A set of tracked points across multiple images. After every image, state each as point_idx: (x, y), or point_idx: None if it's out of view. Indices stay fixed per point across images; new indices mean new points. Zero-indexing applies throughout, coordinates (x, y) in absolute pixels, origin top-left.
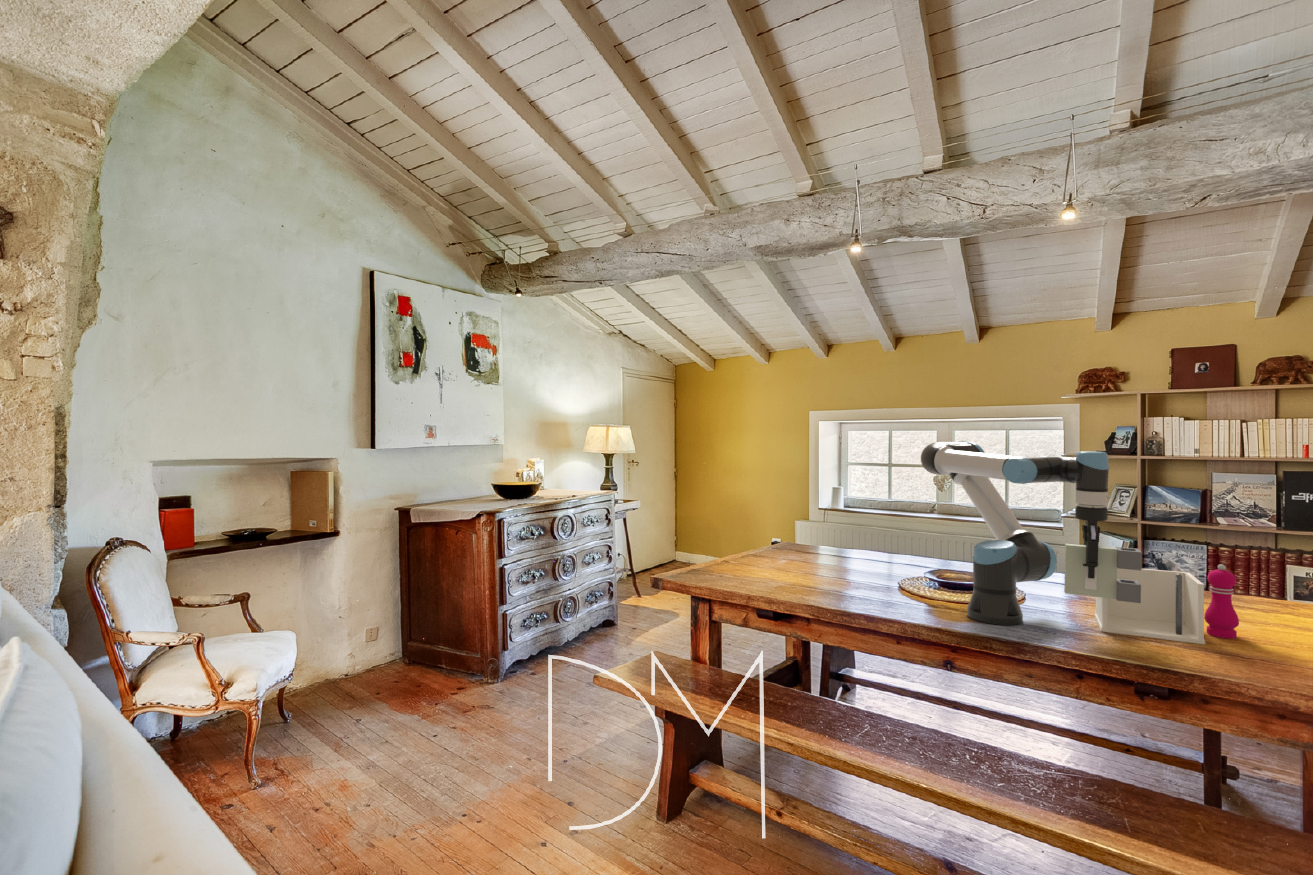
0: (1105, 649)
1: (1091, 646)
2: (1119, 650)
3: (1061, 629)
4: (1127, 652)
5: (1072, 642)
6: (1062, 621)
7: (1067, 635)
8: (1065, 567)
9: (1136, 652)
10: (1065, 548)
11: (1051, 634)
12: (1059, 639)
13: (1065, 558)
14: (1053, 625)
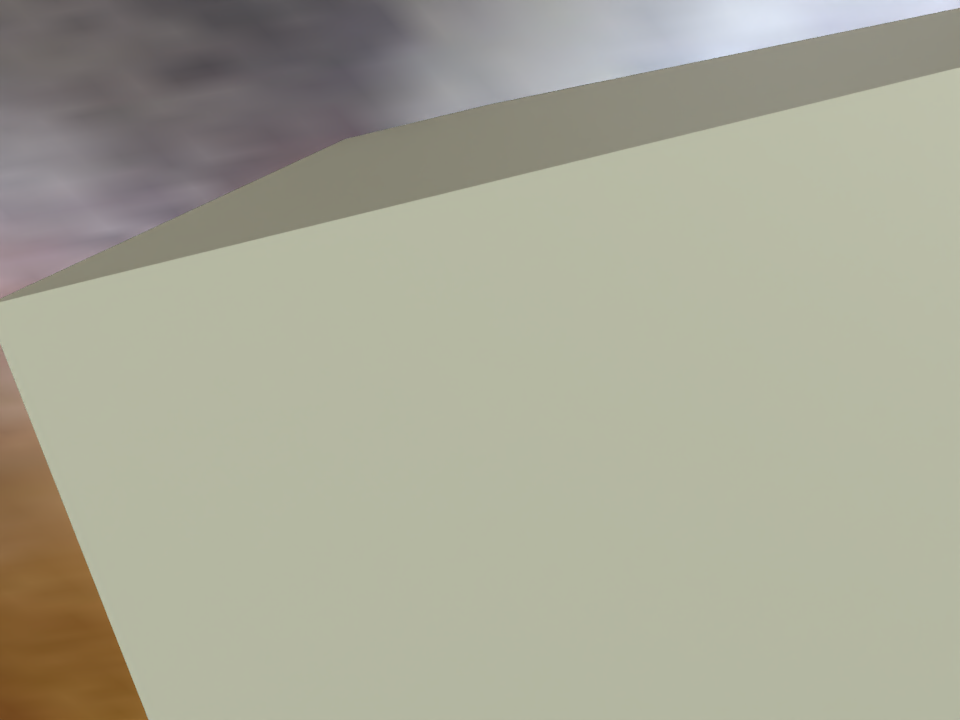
0: (19, 519)
1: (17, 417)
2: (83, 603)
3: (403, 100)
4: (75, 655)
5: (11, 265)
6: (712, 56)
7: (224, 185)
8: (340, 144)
9: (132, 700)
10: (861, 41)
11: (139, 51)
12: (16, 149)
13: (452, 122)
14: (500, 7)
